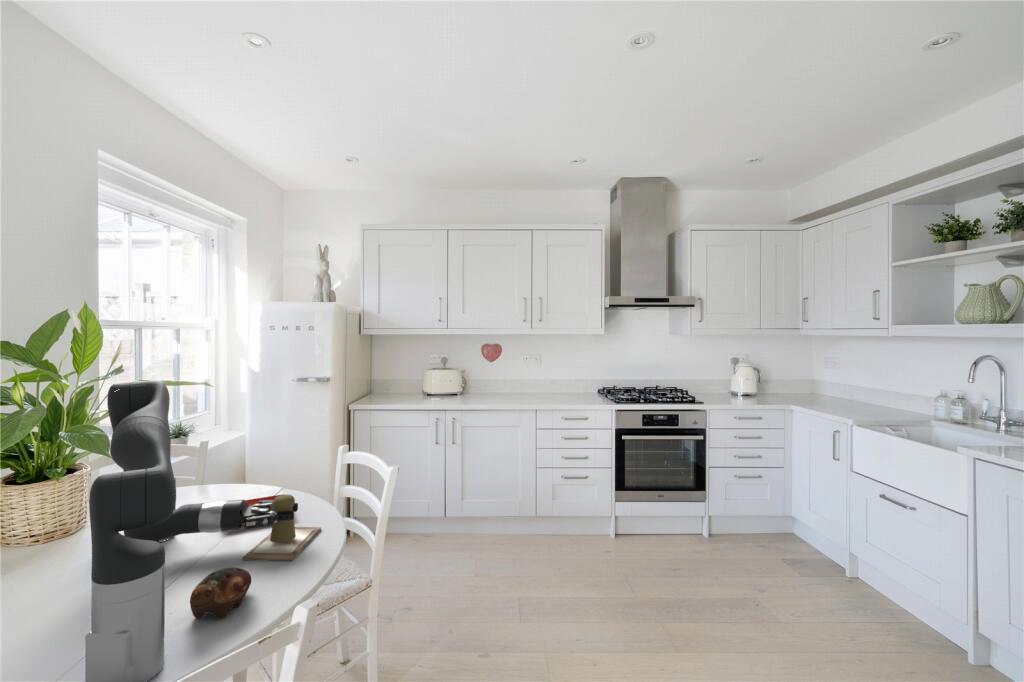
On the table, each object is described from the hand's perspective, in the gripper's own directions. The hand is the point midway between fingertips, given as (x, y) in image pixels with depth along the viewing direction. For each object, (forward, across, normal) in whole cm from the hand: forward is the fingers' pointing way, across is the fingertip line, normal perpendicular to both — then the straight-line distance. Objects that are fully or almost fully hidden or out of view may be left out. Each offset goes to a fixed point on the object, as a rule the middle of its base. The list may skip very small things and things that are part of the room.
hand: (295, 510), depth 123 cm
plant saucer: (-14, +22, +9) cm, 28 cm away
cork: (-3, -1, +7) cm, 7 cm away
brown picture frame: (-3, 0, +9) cm, 9 cm away
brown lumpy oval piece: (-9, -28, +9) cm, 31 cm away
